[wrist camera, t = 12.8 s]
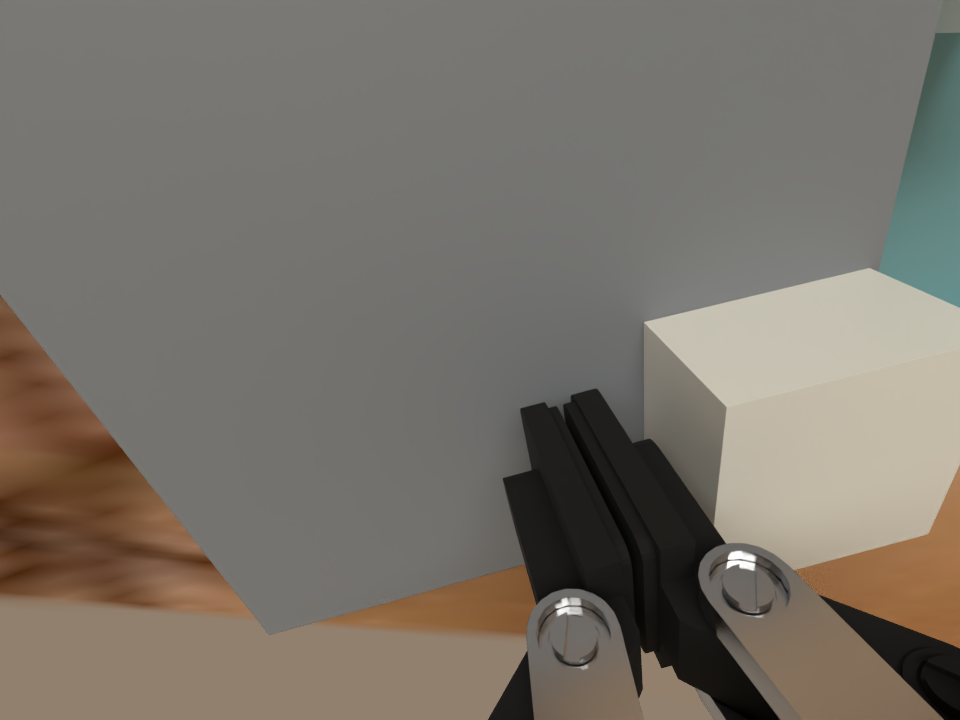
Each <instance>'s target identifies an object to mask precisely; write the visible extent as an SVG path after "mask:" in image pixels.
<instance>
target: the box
mask: <svg viewBox="0 0 960 720" xmlns="http://www.w3.org/2000/svg"><path fill="white" fill-rule="evenodd" d="M878 272H880V273H882V274H884V275H887V276H889V277H891V278H893V279H896V280H898V281H900V282H903V283H905V284H907V285H909V286H912V287H914V288H916V289H918V290H921V291H923V292H925V293H927V294H930V295H932V296H934V297H936V298H939V299H941V300H943V301H946V302H948V303H950V304H952V305H955V306H957V307H959V308H960V33H935V37H934V41H933V45H932V50H931V54H930V58H929V62H928V66H927V71H926V75H925V79H924V83H923V87H922V91H921V96H920V100H919V104H918V108H917V112H916V117H915V121H914V125H913V129H912V133H911V138H910V142H909V146H908V150H907V154H906V158H905V163H904V167H903V171H902V175H901V179H900V184H899V188H898V192H897V196H896V200H895V204H894V209H893V213H892V217H891V221H890V225H889V230H888V234H887V238H886V242H885V246H884V251H883V255H882V259H881V263H880V267H879V271H878Z"/></svg>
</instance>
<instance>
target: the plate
mask: <svg viewBox="0 0 960 720" xmlns="http://www.w3.org/2000/svg"><path fill="white" fill-rule="evenodd" d="M942 4H943V0H0V295H1V296H2V298H3V299H4V300H5V301H6V303H7V304H8V305H9V306H10V308H11V309H12V310H13V311H14V313H15V314H16V315H17V317H18V318H19V319H20V320H21V322H22V323H23V324H24V325H25V327H26V328H27V329H28V330H29V332H30V333H31V334H32V336H33V337H34V338H35V339H36V341H37V342H38V343H39V344H40V346H41V347H42V348H43V349H44V351H45V352H46V353H47V355H48V356H49V357H50V358H51V360H52V361H53V362H54V363H55V365H56V366H57V367H58V368H59V370H60V371H61V372H62V374H63V375H64V376H65V377H66V379H67V380H68V381H69V382H70V384H71V385H72V386H73V387H74V389H75V390H76V391H77V392H78V394H79V395H80V396H81V398H82V399H83V400H84V401H85V403H86V404H87V405H88V406H89V408H90V409H91V410H92V411H93V413H94V414H95V415H96V417H97V418H98V419H99V420H100V422H101V423H102V424H103V425H104V427H105V428H106V429H107V430H108V432H109V433H110V434H111V436H112V437H113V438H114V439H115V441H116V442H117V443H118V444H119V446H120V447H121V448H122V449H123V451H124V452H125V453H126V455H127V456H128V457H129V458H130V460H131V461H132V462H133V463H134V465H135V466H136V467H137V468H138V470H139V471H140V472H141V474H142V475H143V476H144V477H145V479H146V480H147V481H148V482H149V484H150V485H151V486H152V487H153V489H154V490H155V491H156V493H157V494H158V495H159V496H160V498H161V499H162V500H163V501H164V503H165V504H166V505H167V506H168V508H169V509H170V510H171V512H172V513H173V514H174V515H175V517H176V518H177V519H178V520H179V522H180V523H181V524H182V525H183V527H184V528H185V529H186V531H187V532H188V533H189V534H190V536H191V537H192V538H193V539H194V541H195V542H196V543H197V544H198V546H199V547H200V548H201V550H202V551H203V552H204V553H205V555H206V556H207V557H208V558H209V560H210V561H211V562H212V563H213V565H214V566H215V567H216V569H217V570H218V571H219V572H220V574H221V575H222V576H223V577H224V579H225V580H226V581H227V582H228V584H229V585H230V586H231V588H232V589H233V590H234V591H235V593H236V594H237V595H238V596H239V598H240V599H241V600H242V601H243V603H244V604H245V605H246V607H247V608H248V609H249V610H250V612H251V613H252V614H253V615H254V617H255V618H256V619H257V620H258V622H259V623H260V624H261V625H262V627H263V628H264V629H265V631H266V632H267V633H268V634H269V635H272V634H275V633H279V632H283V631H286V630H290V629H294V628H297V627H300V626H304V625H308V624H312V623H315V622H319V621H322V620H326V619H330V618H333V617H337V616H340V615H344V614H348V613H351V612H355V611H358V610H362V609H366V608H369V607H373V606H376V605H380V604H384V603H387V602H391V601H395V600H398V599H402V598H405V597H409V596H413V595H416V594H420V593H423V592H427V591H431V590H434V589H438V588H441V587H445V586H449V585H452V584H456V583H459V582H463V581H467V580H470V579H474V578H477V577H481V576H485V575H488V574H492V573H496V572H499V571H503V570H506V569H510V568H514V567H517V566H521V565H524V564H525V562H524V559H523V555H522V551H521V548H520V544H519V541H518V537H517V534H516V530H515V526H514V523H513V519H512V515H511V511H510V507H509V503H508V499H507V495H506V491H505V487H504V483H503V478H505V477H509V476H512V475H516V474H520V473H523V472H527V471H531V470H532V469H531V463H530V458H529V453H528V448H527V443H526V438H525V433H524V428H523V423H522V418H521V413H520V408H524V407H527V406H531V405H535V404H539V403H542V402H545V403H546V404H547V406H548V408H550V407H554V406H557V407H558V409H559V411H560V413H561V415H562V417H563V419H564V421H565V417H564V410H563V404H565V403H569V402H571V395H573V394H576V393H580V392H584V391H588V390H591V389H595V388H596V389H598V390H599V392H600V393H601V395H602V396H603V398H604V399H605V401H606V402H607V404H608V405H609V407H610V409H611V410H612V412H613V413H614V415H615V416H616V418H617V419H618V421H619V423H620V424H621V426H622V427H623V429H624V430H625V432H626V433H627V435H628V437H629V438H630V440H631V441H632V443H634V442H638V441H642V440H644V322H646V321H650V320H655V319H659V318H663V317H667V316H671V315H675V314H680V313H684V312H688V311H692V310H696V309H700V308H705V307H709V306H713V305H717V304H721V303H725V302H729V301H734V300H738V299H742V298H746V297H750V296H754V295H759V294H763V293H767V292H771V291H775V290H779V289H784V288H788V287H792V286H796V285H800V284H804V283H809V282H813V281H817V280H821V279H825V278H830V277H834V276H838V275H842V274H846V273H851V272H855V271H859V270H863V269H867V268H871V269H873V270H875V271H879V267H880V263H881V259H882V255H883V251H884V246H885V242H886V238H887V234H888V230H889V225H890V221H891V217H892V213H893V209H894V204H895V200H896V196H897V192H898V188H899V184H900V179H901V175H902V171H903V167H904V163H905V158H906V154H907V150H908V146H909V142H910V138H911V133H912V129H913V125H914V121H915V117H916V112H917V108H918V104H919V100H920V96H921V91H922V87H923V83H924V79H925V75H926V71H927V66H928V62H929V58H930V54H931V50H932V45H933V41H934V37H935V33H936V29H937V24H938V20H939V16H940V12H941V8H942Z"/></svg>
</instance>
